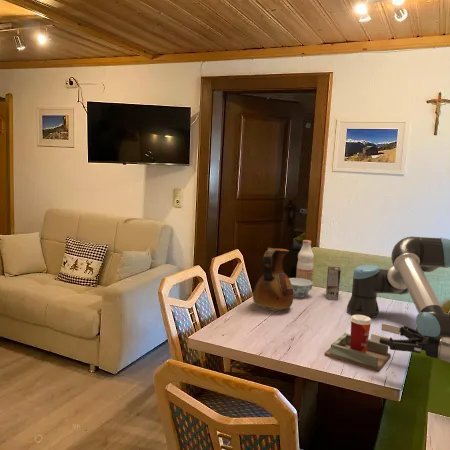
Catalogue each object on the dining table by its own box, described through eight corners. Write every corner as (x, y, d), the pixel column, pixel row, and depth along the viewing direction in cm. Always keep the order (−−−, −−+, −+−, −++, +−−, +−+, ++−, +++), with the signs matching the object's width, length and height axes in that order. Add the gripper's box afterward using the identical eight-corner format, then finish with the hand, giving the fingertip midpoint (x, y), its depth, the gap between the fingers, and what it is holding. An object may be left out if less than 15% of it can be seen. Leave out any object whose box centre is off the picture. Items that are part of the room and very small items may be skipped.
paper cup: (368, 359, 160) (372, 322, 158) (347, 355, 162) (350, 319, 160) (368, 350, 167) (371, 315, 165) (347, 347, 169) (350, 312, 167)
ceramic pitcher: (298, 306, 219) (303, 248, 214) (281, 317, 202) (286, 254, 198) (264, 298, 229) (267, 242, 225) (245, 308, 212) (248, 248, 208)
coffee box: (338, 300, 232) (340, 270, 230) (326, 299, 234) (328, 269, 231) (337, 295, 241) (339, 267, 239) (325, 294, 243) (327, 265, 240)
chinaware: (283, 290, 246) (284, 277, 245) (310, 292, 245) (311, 279, 244) (284, 298, 231) (285, 284, 230) (313, 300, 230) (314, 286, 229)
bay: (339, 341, 177) (340, 331, 176) (390, 356, 166) (391, 344, 165) (324, 355, 164) (325, 343, 163) (378, 371, 152) (379, 359, 152)
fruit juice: (294, 289, 249) (298, 241, 245) (295, 285, 258) (299, 238, 254) (311, 291, 247) (315, 242, 243) (311, 286, 256) (315, 240, 252)
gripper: (431, 371, 137) (364, 352, 149) (444, 346, 158) (385, 331, 170) (434, 349, 136) (366, 331, 148) (447, 326, 157) (386, 313, 169)
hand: (376, 331), depth 159 cm, fingers open, 13 cm apart
